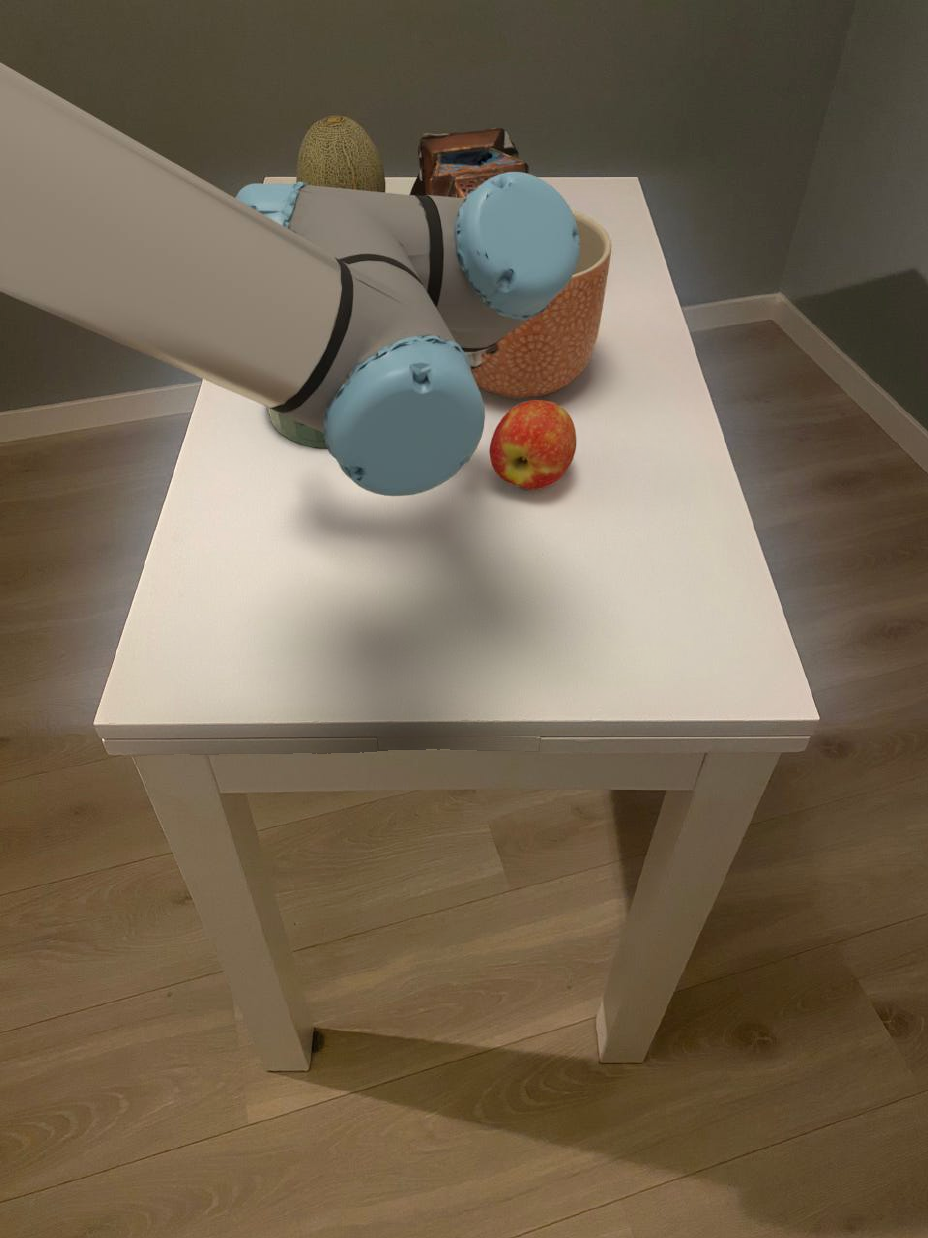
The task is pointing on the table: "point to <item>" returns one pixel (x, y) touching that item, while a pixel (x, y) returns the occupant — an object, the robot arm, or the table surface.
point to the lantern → (464, 161)
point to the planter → (554, 329)
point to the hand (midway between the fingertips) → (367, 390)
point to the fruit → (340, 157)
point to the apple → (533, 444)
